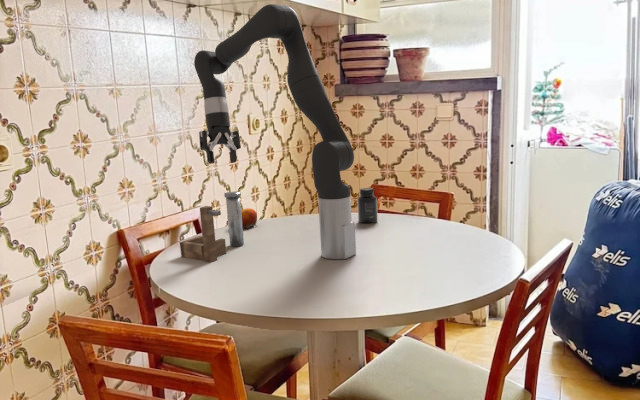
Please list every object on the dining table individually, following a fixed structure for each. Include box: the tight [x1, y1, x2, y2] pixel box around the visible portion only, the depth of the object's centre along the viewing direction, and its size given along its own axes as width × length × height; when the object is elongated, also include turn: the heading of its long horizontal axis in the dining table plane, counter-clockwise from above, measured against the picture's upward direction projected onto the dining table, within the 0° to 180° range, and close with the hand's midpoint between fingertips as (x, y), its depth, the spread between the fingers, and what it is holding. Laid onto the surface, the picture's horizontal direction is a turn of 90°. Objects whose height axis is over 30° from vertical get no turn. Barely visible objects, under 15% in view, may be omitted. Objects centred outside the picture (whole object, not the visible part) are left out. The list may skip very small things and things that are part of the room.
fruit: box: [241, 207, 258, 229], centre depth 204 cm, size 8×8×8 cm
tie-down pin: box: [223, 190, 245, 248], centre depth 178 cm, size 5×5×17 cm
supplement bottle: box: [357, 187, 379, 225], centre depth 200 cm, size 7×7×12 cm
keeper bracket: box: [179, 205, 227, 263], centre depth 167 cm, size 16×9×16 cm, turn 56°
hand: (222, 163), depth 181 cm, fingers open, 8 cm apart
